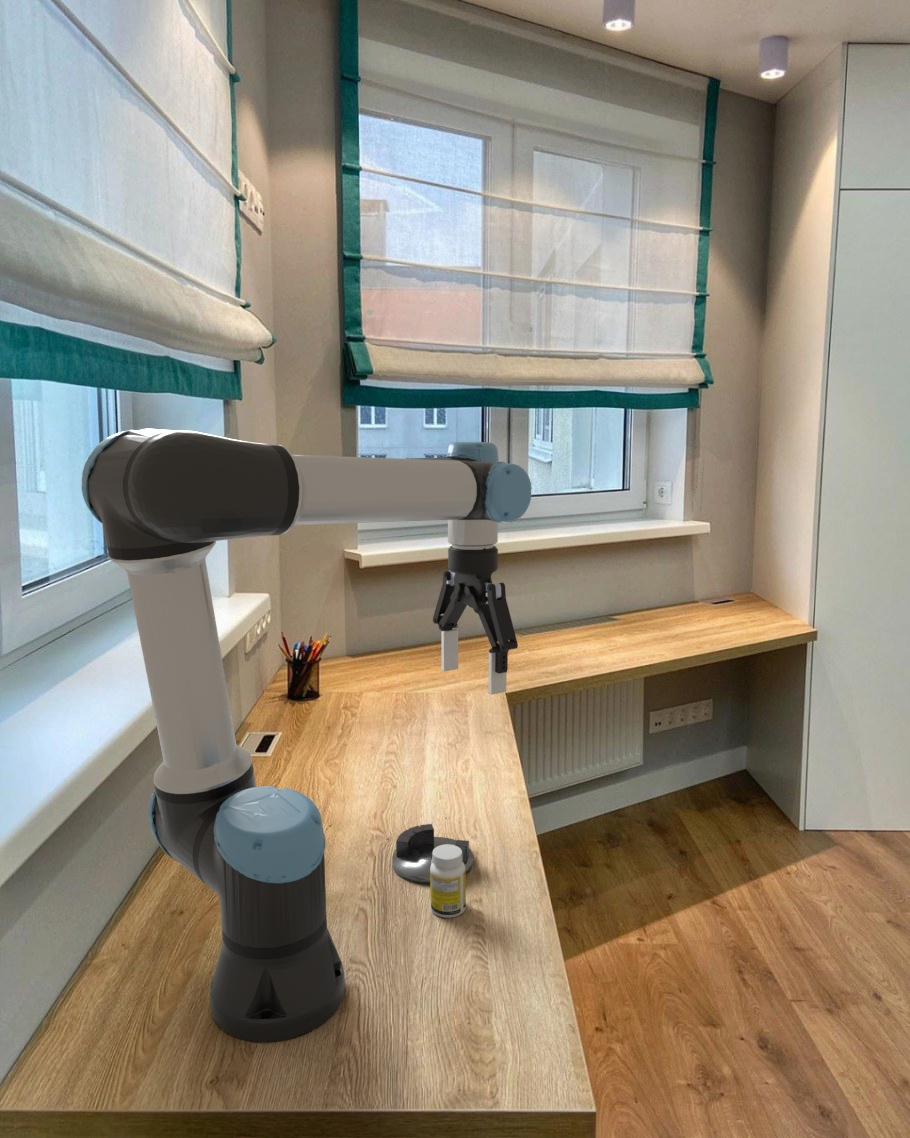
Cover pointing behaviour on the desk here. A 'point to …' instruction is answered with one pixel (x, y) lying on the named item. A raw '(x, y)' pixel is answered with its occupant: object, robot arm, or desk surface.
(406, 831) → the toothed grey disc
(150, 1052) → the desk surface
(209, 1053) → the desk surface
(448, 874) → the supplement bottle
